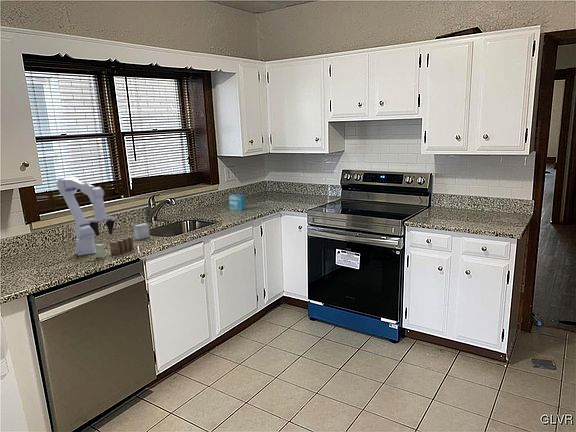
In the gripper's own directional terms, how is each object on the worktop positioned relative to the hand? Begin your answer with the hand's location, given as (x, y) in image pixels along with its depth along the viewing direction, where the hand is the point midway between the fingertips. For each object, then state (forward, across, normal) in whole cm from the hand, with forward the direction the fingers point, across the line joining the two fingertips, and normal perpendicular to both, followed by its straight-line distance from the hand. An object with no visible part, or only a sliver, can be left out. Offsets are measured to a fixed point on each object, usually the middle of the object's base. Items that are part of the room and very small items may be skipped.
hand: (104, 234), depth 235 cm
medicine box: (+11, +1, +39) cm, 41 cm away
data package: (+11, +43, +125) cm, 133 cm away
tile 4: (+12, +1, +5) cm, 13 cm away
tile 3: (+12, +2, +9) cm, 15 cm away
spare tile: (+12, -5, 0) cm, 13 cm away
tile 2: (+12, +3, +12) cm, 17 cm away
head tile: (+12, +4, +16) cm, 20 cm away
